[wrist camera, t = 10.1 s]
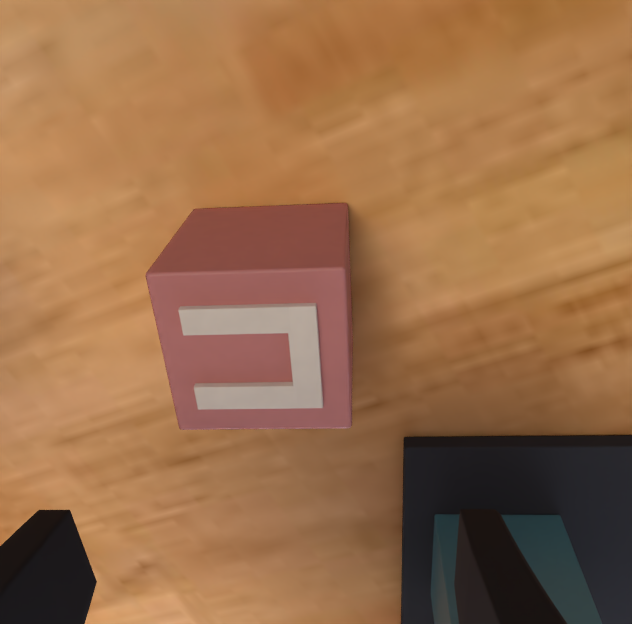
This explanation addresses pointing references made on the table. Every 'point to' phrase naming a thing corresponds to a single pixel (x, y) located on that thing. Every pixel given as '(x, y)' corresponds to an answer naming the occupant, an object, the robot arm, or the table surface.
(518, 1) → the table surface
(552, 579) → the block
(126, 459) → the table surface
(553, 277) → the table surface
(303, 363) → the block
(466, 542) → the robot arm
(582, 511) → the word mat
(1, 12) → the table surface
